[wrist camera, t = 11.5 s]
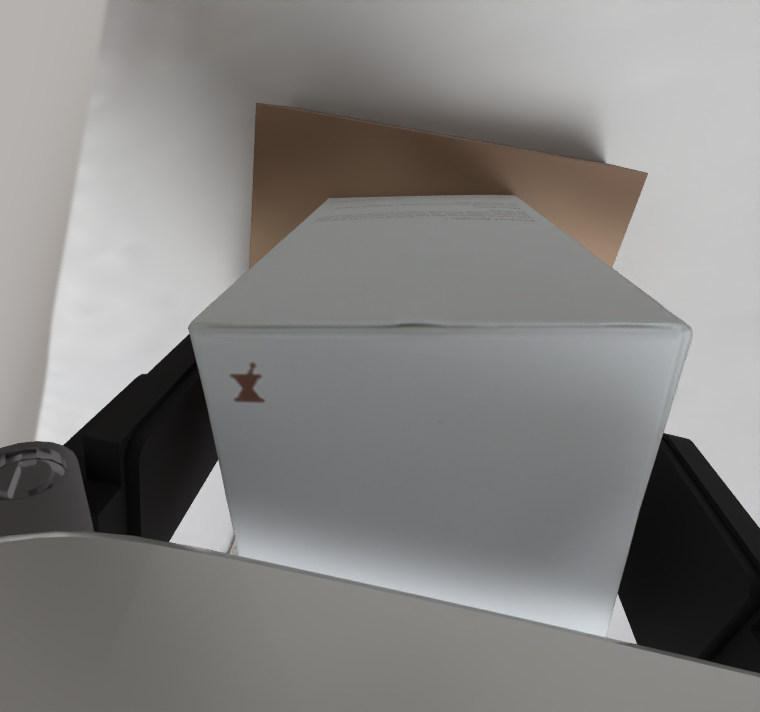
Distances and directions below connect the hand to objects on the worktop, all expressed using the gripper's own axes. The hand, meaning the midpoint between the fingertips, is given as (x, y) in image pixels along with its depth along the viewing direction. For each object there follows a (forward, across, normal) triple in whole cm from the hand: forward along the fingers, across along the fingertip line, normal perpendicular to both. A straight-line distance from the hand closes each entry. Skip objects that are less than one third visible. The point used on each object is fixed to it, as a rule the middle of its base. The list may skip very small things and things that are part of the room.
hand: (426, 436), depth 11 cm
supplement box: (+10, 0, 0) cm, 10 cm away
